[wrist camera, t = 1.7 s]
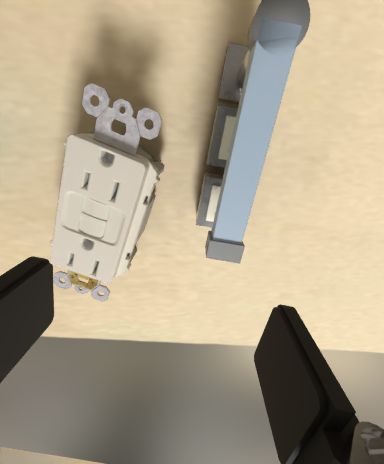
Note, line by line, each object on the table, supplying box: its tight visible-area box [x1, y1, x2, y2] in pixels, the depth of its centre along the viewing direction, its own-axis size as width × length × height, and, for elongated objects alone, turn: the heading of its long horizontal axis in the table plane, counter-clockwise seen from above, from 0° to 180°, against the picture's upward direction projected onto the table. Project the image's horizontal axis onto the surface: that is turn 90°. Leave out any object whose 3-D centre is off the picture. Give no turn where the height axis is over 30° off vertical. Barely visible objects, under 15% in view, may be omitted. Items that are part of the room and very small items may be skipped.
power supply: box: [206, 105, 238, 168], centre depth 30 cm, size 7×6×5 cm
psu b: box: [196, 172, 223, 227], centre depth 33 cm, size 7×6×5 cm
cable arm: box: [205, 0, 310, 263], centre depth 21 cm, size 22×4×3 cm, turn 170°
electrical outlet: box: [50, 83, 164, 301], centre depth 32 cm, size 12×28×10 cm, turn 158°
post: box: [218, 43, 250, 103], centre depth 25 cm, size 6×6×12 cm
